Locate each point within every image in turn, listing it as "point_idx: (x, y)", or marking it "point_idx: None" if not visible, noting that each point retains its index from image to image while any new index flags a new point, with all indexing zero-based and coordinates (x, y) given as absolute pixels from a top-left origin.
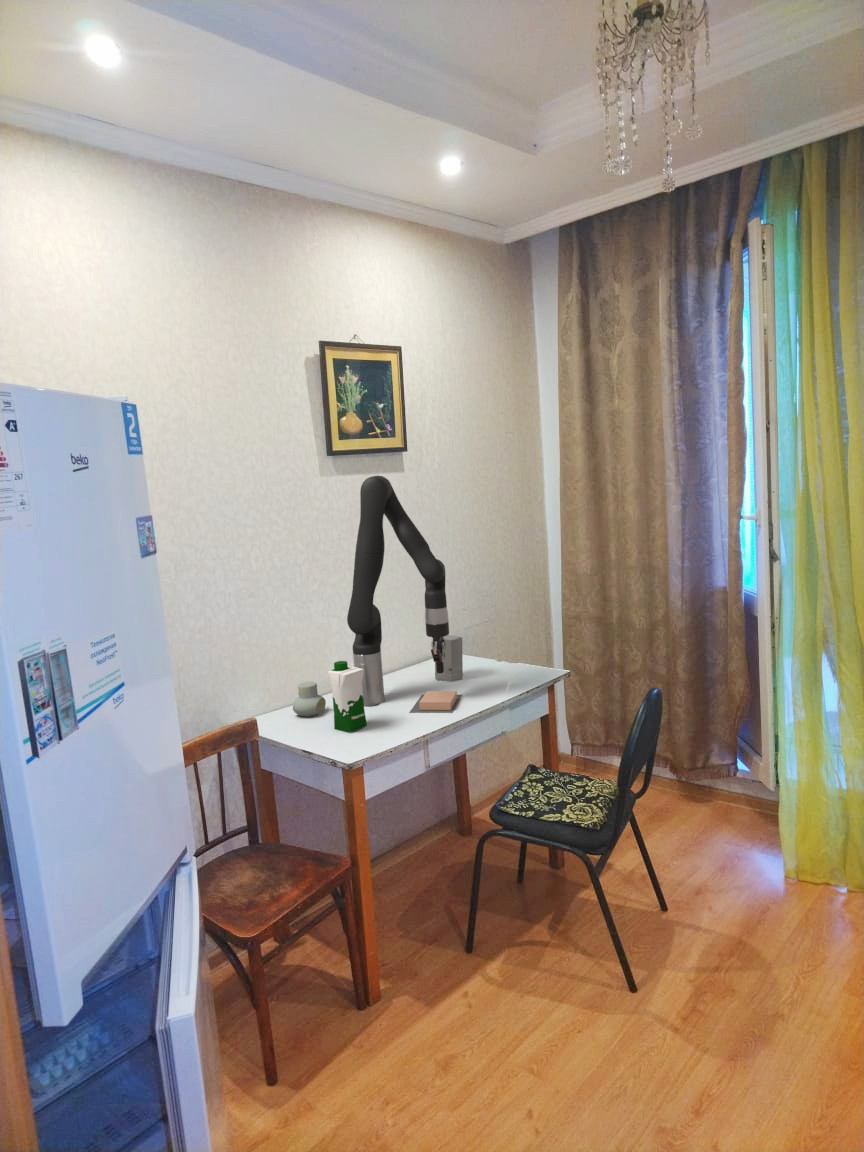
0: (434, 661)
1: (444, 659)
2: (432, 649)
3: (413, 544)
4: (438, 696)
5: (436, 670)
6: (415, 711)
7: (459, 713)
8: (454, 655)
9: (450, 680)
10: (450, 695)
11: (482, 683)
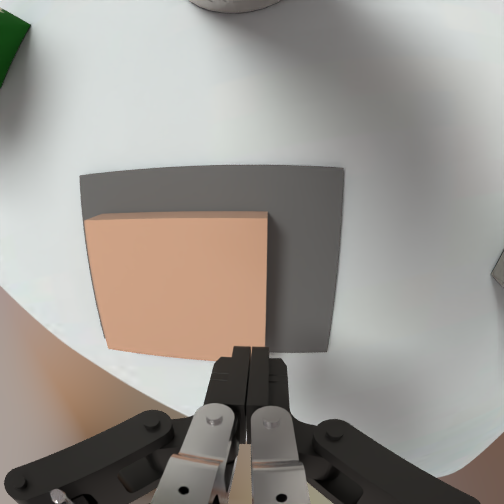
0: (144, 415)
1: None
2: (13, 497)
3: None
4: (174, 295)
5: (232, 354)
6: (93, 198)
7: (117, 354)
8: None
9: (497, 270)
10: (194, 345)
11: (450, 374)
